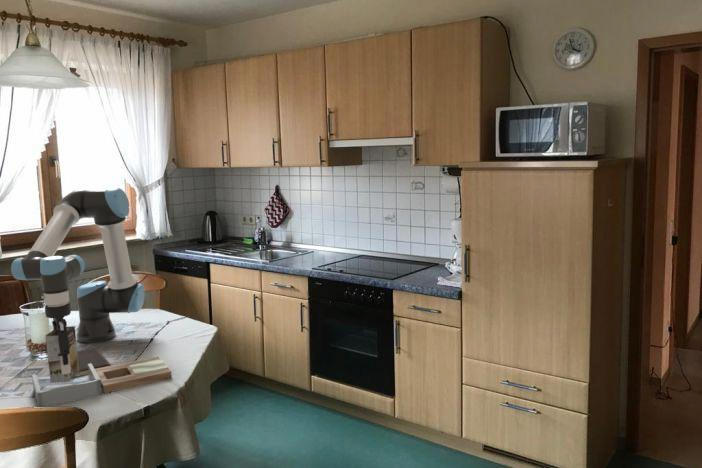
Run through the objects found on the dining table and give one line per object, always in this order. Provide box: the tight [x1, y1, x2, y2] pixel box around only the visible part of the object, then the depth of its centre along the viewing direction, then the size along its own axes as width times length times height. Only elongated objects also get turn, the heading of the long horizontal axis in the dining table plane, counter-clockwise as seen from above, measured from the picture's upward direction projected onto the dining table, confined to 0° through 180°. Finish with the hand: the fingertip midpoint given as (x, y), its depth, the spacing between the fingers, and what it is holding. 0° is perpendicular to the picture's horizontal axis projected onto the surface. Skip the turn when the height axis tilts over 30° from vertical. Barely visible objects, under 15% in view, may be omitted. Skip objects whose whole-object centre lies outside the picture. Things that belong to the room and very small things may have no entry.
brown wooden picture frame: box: [95, 356, 172, 394], centre depth 214 cm, size 18×22×3 cm
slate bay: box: [31, 363, 103, 408], centre depth 202 cm, size 18×18×5 cm
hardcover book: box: [73, 347, 112, 378], centre depth 227 cm, size 16×23×2 cm
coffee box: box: [45, 326, 79, 383], centre depth 204 cm, size 9×6×16 cm
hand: (64, 368), depth 205 cm, fingers closed on coffee box, 10 cm apart
